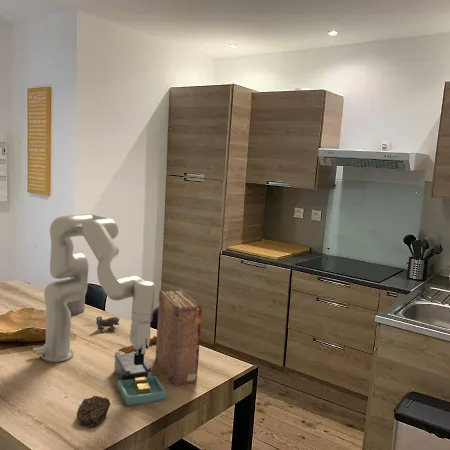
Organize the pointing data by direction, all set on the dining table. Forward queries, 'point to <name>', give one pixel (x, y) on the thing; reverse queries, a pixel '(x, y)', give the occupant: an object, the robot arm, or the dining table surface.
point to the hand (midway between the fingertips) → (138, 363)
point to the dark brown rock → (93, 411)
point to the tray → (133, 399)
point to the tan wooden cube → (143, 388)
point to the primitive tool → (131, 348)
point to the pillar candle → (76, 306)
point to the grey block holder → (129, 367)
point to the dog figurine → (107, 323)
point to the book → (178, 336)
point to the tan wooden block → (139, 380)
